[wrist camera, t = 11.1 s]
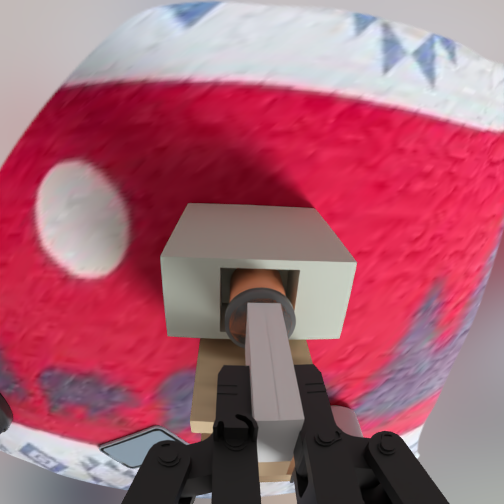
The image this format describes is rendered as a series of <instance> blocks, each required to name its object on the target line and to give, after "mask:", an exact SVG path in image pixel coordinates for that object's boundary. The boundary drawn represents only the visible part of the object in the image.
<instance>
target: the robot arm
mask: <svg viewBox="0 0 504 504" xmlns="http://www.w3.org/2000/svg"><path fill="white" fill-rule="evenodd" d="M245 361H246V366H241V365H223V367H222V368H221V370H220V372H219V373H218V379H217V398H216V418H215V421H214V424H213V432H212V434H211V435H210V436H209V437H208V438H207V439H205V440H203V441H201V442H198V443H193V444H189V445H184V444H182V443H180V442H178V441H174V440H164V441H159V442H157V443H156V444H154V445H153V446H152V447H151V448H150V449H149V451H148V453H147V455H146V457H145V458H144V460H143V462H142V464H141V466H140V468H139V470H138V472H137V474H136V476H135V478H134V480H133V482H132V484H131V486H130V488H129V490H128V492H127V494H126V496H125V497H124V499H123V501H122V503H121V504H193V503H194V500H195V497H196V496H198V495H202V494H207V493H211V492H212V504H261V495H260V481H259V467H258V462H282V461H292V458H293V455H294V461H295V467H294V470H293V472H292V475H291V478H290V483H293V481H294V484H295V491H296V498H297V504H449V502H448V501H447V500H446V498H445V497H444V495H443V494H442V493H441V491H440V490H439V489H438V487H437V486H436V484H435V483H434V482H433V480H432V479H431V478H430V476H429V475H428V474H427V472H426V471H425V469H424V468H423V467H422V465H421V464H420V462H419V461H418V460H417V458H416V457H415V456H414V454H413V453H412V451H411V450H410V449H409V447H408V446H407V445H406V443H405V442H404V441H403V439H402V438H401V437H400V436H399V435H397V434H395V433H393V432H389V431H382V432H378V433H376V434H375V435H373V436H372V437H371V438H363V437H356V436H352V435H349V434H347V433H344V432H343V431H342V430H341V429H340V428H339V427H338V426H337V425H336V422H335V420H334V416H333V413H332V409H331V406H330V402H329V399H328V395H327V393H326V388H325V385H324V381H323V378H322V374H321V372H320V371H319V370H318V369H317V368H316V366H315V365H314V364H300V365H293V360H292V355H291V350H290V346H289V341H288V336H287V331H286V327H285V322H284V317H283V313H282V308H281V303H248V304H247V322H246V339H245ZM12 420H13V414H12V411H11V409H10V407H9V405H8V404H7V402H6V401H5V399H4V398H3V397H2V396H1V394H0V434H1V433H2V432H5V431H6V430H7V429H8V428H9V426H10V424H11V422H12Z"/></svg>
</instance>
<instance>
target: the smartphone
mask: <svg viewBox="0 0 504 504" xmlns="http://www.w3.org/2000/svg"><path fill="white" fill-rule="evenodd" d="M164 440H174V441H178V442H180V443H182V444H184V445H189V443H187V442H185V441H184V440H183V439H181V438H179V437H177V436H176V435H175V434H173V433H171V432H170V431H169V430H167V429H166V428H164V427H162V426H153V427H150V428H147V429H145V430H142V431H140V432H137V433H134V434H131V435H128V436H126V437H123V438H120V439H117V440H114V441H111V442H108V443H105V444H102V445H100V447H99V450H100V451H101V452H103V453H104V454H106V455H107V456H109V457H111V458H112V459H114V460H116V461H117V462H119V463H121V464H122V465H124V466H126V467H128V468H131V469H136V468H139V467H140V466H141V464H142V462H143V460H144V458H145V457H146V455H147V453H148V451H149V449H150V448H151V447H152V446H153V445H154V444H156V443H157V442H159V441H164Z"/></svg>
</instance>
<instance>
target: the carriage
mask: <svg viewBox="0 0 504 504" xmlns="http://www.w3.org/2000/svg"><path fill="white" fill-rule="evenodd" d="M288 341H289V346H290V350H291V355H292V360H293V365H300V364H313V363H312V360H311V356H310V352H309V349H308V345H307V342H306V339H302V340H288ZM223 365H241V366H246V361H245V349H244V348H241V347H239V346H238V345H236V344H235V343H234V342H232V341H231V339H213V338H200V345H199V353H198V360H197V368H196V376H195V384H194V392H193V400H192V408H191V417H190V424H191V431H192V432H195V433H202V436H201V441H203V440H205V439H207V438H208V437H209V436H210V435H211V434H212V432H213V424H214V421H215V418H216V398H217V379H218V373H219V372H220V370H221V368H222V367H223ZM258 467H259V481H260V482H280V481H290V478H291V475H292V472H293V470H294V467H295V461H294V455H293V458H292V461H282V462H258Z"/></svg>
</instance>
